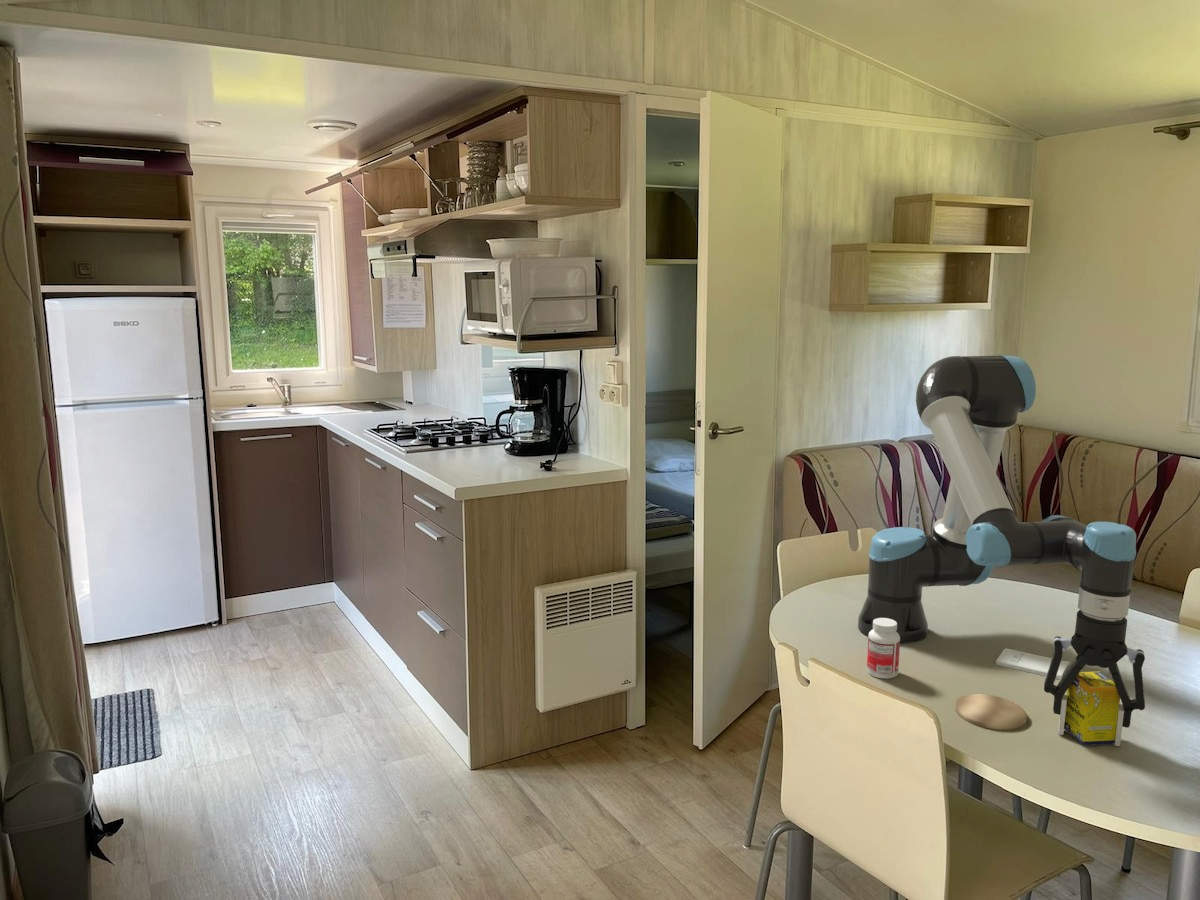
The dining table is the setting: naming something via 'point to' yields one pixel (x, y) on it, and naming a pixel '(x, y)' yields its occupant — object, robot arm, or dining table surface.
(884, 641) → the pill bottle
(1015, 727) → the disc
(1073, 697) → the supplement box
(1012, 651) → the external hard drive
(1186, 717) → the dining table surface
